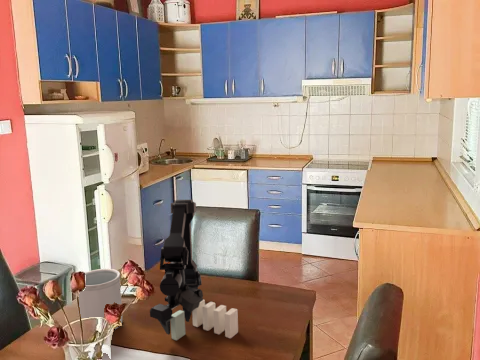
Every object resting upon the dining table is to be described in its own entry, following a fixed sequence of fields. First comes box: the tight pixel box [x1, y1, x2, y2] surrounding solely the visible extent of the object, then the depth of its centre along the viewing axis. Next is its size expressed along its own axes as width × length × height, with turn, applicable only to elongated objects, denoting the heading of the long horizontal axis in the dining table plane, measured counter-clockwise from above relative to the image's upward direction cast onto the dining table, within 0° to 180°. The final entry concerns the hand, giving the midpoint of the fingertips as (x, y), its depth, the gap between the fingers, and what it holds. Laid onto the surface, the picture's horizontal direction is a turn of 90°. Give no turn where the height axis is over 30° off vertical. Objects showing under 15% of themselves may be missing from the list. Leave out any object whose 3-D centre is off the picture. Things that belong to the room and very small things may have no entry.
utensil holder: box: [77, 268, 123, 330], centre depth 148 cm, size 15×15×18 cm
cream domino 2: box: [202, 301, 217, 332], centre depth 145 cm, size 2×4×8 cm, turn 146°
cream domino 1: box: [191, 299, 206, 328], centre depth 148 cm, size 2×4×8 cm, turn 146°
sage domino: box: [170, 309, 186, 341], centre depth 140 cm, size 2×4×8 cm, turn 146°
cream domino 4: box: [224, 307, 239, 339], centre depth 141 cm, size 2×4×8 cm, turn 146°
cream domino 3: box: [213, 304, 227, 335], centre depth 143 cm, size 2×4×8 cm, turn 146°
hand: (178, 327), depth 140 cm, fingers open, 9 cm apart
